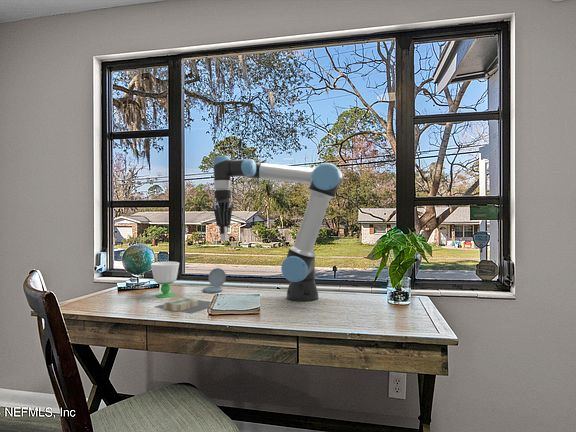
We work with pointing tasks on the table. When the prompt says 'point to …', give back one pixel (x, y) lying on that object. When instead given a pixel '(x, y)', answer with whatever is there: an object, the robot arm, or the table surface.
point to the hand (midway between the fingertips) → (224, 240)
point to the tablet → (181, 304)
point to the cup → (165, 276)
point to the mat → (201, 306)
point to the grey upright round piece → (215, 281)
